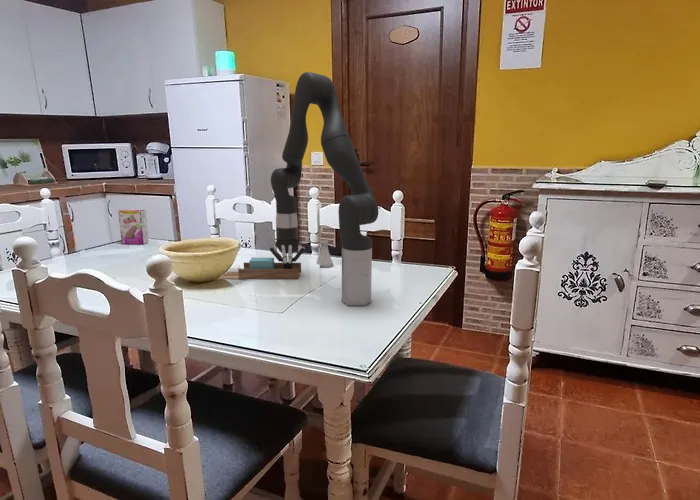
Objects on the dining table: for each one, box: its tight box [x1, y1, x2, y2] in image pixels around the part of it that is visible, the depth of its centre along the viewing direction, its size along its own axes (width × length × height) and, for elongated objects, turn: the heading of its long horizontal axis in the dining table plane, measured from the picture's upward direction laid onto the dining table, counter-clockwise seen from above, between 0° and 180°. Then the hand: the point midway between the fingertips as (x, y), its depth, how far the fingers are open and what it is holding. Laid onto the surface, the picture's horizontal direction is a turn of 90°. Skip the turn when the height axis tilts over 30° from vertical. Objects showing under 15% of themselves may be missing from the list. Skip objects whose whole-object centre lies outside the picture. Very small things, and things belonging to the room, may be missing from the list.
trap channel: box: [216, 262, 302, 280], centre depth 172 cm, size 10×31×5 cm, turn 90°
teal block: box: [248, 257, 275, 269], centre depth 172 cm, size 5×8×6 cm, turn 90°
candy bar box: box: [118, 208, 149, 246], centre depth 226 cm, size 11×5×16 cm, turn 84°
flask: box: [315, 239, 334, 268], centre depth 190 cm, size 7×7×10 cm
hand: (288, 272), depth 173 cm, fingers closed
